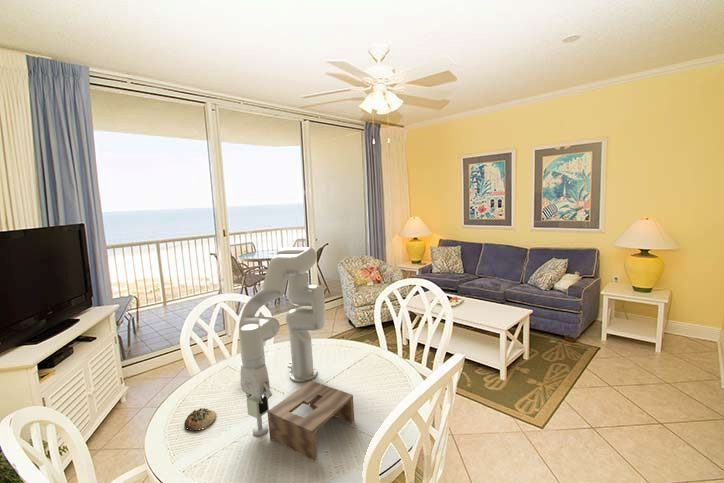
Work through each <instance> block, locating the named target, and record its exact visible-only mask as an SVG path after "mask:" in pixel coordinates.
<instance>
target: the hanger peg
mask: <svg viewBox="0 0 724 483" xmlns="http://www.w3.org/2000/svg"><path fill="white" fill-rule="evenodd" d="M263 397H264V394H263V395H262V398H263ZM259 403H260V401H259V398H258V397H256V396H253V395H251V396H250V397H248V398H247V397H246V407H247V415H248V416H250V417H253V418H255V419H256V424H257V425H255V426H254V427H253V429H252V435H254V436H255V437H256V436H257V437H258V436H259V437H260V436H263V435H265V434H266V433H267V432H269V426H268V424H266V423H263V419H262V416H264V415H265V414H268V413H267V411H269V410H270V408H269V407H270V406H269V399H268V400H267V405H268V410H267V411H265V412H264V413H262V414H260V412H259Z"/></svg>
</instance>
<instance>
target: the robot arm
mask: <svg viewBox="0 0 724 483" xmlns="http://www.w3.org/2000/svg"><path fill="white" fill-rule="evenodd" d="M276 252H277V253H276V255H274V256H272V257H271V258H270V261H269V263H268V266H267V270H266V273H265V277H264V280H263V284H262V287H261V288H260V290H258V291H257V292H256V293H255V294H254V295H253V296H252V297H251V298H250V299H249V300H248V301H247V303H246V304H245V305H244V307H243V310H242V313H241V316H240V319H239V324H238V335H239V347H240V358H241V357H242V358H241V364H240V387H241V390H242V391H243V392H244V393H245V396H246V397H245V398H246V399H247V398H248V397H250V396H251V395H253V396H256V397H258V398H259V401H260V403H259V412H260V414H262V413H264V412H265V411H267V410H268V405H269V404H268V405H267V400H268V401H269V399H270V397H272V396H273V394H272V391H271V389H270V386H271V385H270V378H269V372H268V368H267V365H266V358H265V357H266V356H265V348H264V345H265V344H264V343H265V342H267V341H269V340H271V339H273V338H274V337H276V336H277V335H278V333H279V331H280V329H281V328H280V322H279V320H278V319H277V318H276V317H271V316H270V317H269V316H268V317H267V316H256V315H257V312H258V311H259V310H260V309H261V308H262V307H263V306H264V305H266V304H268V303H270V302H272V301H274V300H276V299H277V300H278V299H279V298H281V297H282V296H283V295H284V294H285V291H286V290H285V289H286V287H287V286H288V300H289V304H290V305H293V306H297V308H296V307H295V308H292V309H290V310H288V311H287V313H286V315H285V321H286V323H285V324H286V326H287V330H288V333H289V334H288V336H289V344H290V345H289V347H290V355H291V357H290V358H291V361H289V362H288V365H287V368H288V369H290V372H289V379H290V380H291V381H293V382H296V383H297V382H298V383H302V382H309V381H312V379H314V378H316V376H317V375H318V369H317V368H316V367H314V359H313V358H314V357H313V348H312V347H313V346H312V345H313V344H312V337H311V334H310V332H309V331H311V332H312V331H314V332H315V331H321V330H323V328H324V327H325V324H326V303H325V302H326V301H325V300H326V299H325V292H324V289H323V287H322V286H321V285H319V284H309V283H308V273H307V272H308V271H310V269H311V268H313V267H314V265H316V261H317V252H316V250H315V249H314V248H313V247H310V246H308V247H307V246H304V247H303V246H302V247H301V246H299V247H298V246H297V247H296V246H293V247H291V246H289V247H282V248H280V249H278V250H277V251H276ZM287 283H288V285H287ZM299 306H300V307H299ZM303 307H311V308H303ZM263 394H264V397H263V398H262V395H263Z"/></svg>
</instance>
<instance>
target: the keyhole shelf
mask: <svg viewBox="0 0 724 483" xmlns="http://www.w3.org/2000/svg"><path fill="white" fill-rule="evenodd" d="M303 404H304V405H306V406H309V405H310V406H309V407H311V408H314V409H313V410H312V411H311V412H310V413H309V414H307V415H306V416H305V417H302V416H300V415H297V414H295V413H293V412H294V411H295V410H297V409H298V408H299V407H300V406H302V405H303ZM354 407H355V406H354V395H353V394H352V393H348V392H345V391H343V390H339V389H337V388H334V387H331V386H328V385H325V384H322V383H320V382H316V381H314V380H309V381H307V383H305V384H304V385H303V386H301V387H300V388H299V389H297V390H296V391H294V392H293V393H291V394H290V395H288V396H287V397H285V399H283V400H282V401H280V402H278V403H277V404H276V405H274V406H273V407H271V408H269V411H267V413H266V414H267V423H268V433H269V439H271V440H272V441H275V442H276V443H278V444H279V445H280V444H281V445H282V446H284V447H286V448H288V449H290V450H292V451H294V452H296V453H298V454H300V455H301V456H304V457H305V458H308V459H310V460H312V461H313V462H314V461H315V460H317V458H318V449H317V437H316V435H317V433H316V431H318V430H319V429H320V428H321V427H322V426H323V425H324V424H325V423H327V421H328V420H330V419H331V418H332V417H336V418H339V419H342V420H344V421H346V422H348V423H353V422H354V421H355V408H354Z"/></svg>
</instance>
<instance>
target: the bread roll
mask: <svg viewBox="0 0 724 483" xmlns="http://www.w3.org/2000/svg"><path fill="white" fill-rule="evenodd" d="M216 417H217V413H216V412H215V411H214V410H212V409H208V408H203V407H202V408H199V409H194V410H193V411H192V412H190V414H188V415H187V417H186V419H185V420H184V423H183V424H184V427H186V428H188V429H191V431H193V430H199V429H202V428H205V427H207V426H208V427H209V425H210V424H211V423H212V422H213V421H215V420H216ZM213 423H214V422H213ZM213 423H212V424H213ZM212 424H211V425H212ZM211 425H210V426H211ZM208 427H207V428H208ZM186 428H185V429H186ZM188 429H187V430H188Z"/></svg>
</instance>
